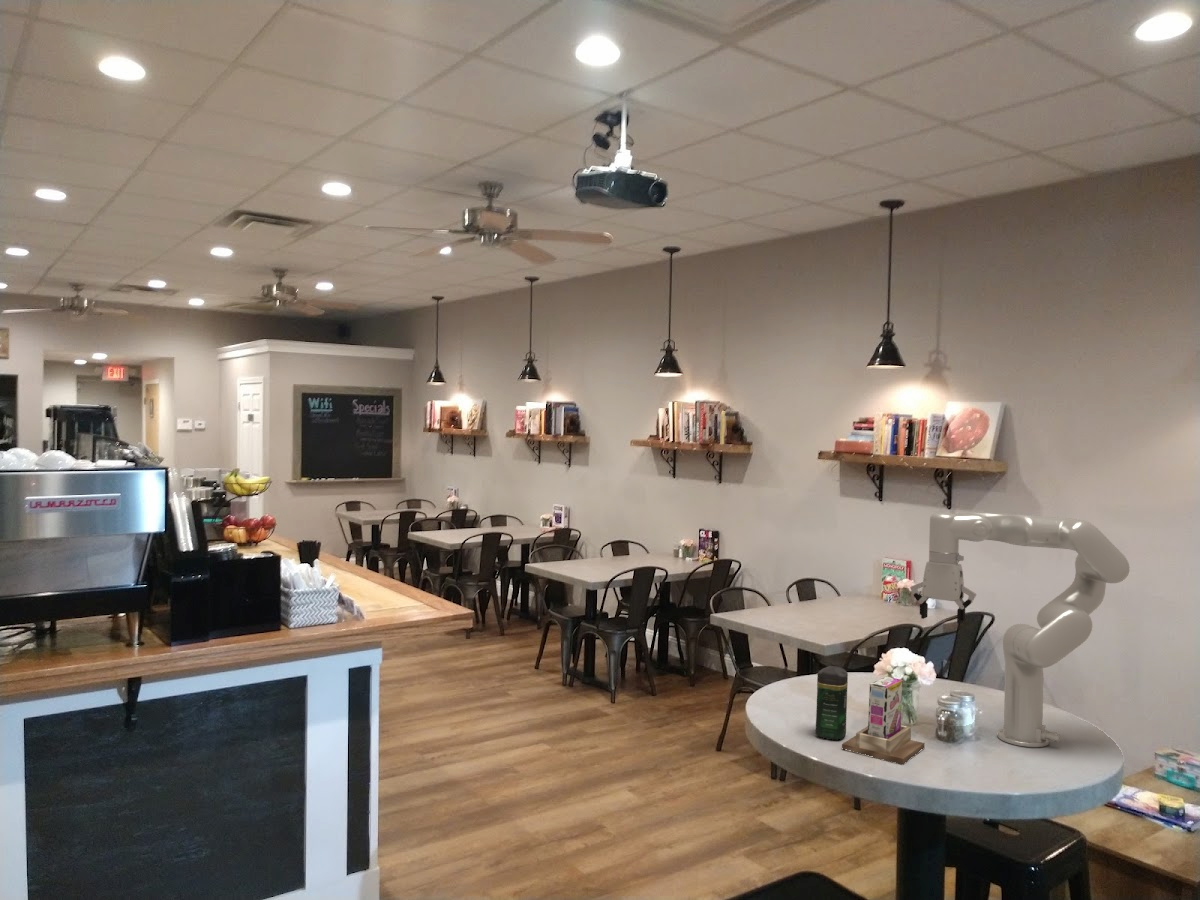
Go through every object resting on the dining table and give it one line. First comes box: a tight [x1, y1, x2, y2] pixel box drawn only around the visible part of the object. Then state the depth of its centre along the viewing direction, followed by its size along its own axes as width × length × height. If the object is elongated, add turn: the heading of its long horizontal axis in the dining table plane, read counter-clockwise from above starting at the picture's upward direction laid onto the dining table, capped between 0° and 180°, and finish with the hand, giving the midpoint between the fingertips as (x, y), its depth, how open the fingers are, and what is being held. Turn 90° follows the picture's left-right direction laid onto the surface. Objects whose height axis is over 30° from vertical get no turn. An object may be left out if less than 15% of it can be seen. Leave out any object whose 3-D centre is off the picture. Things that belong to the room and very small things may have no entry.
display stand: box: [841, 724, 925, 765], centre depth 229 cm, size 16×16×5 cm
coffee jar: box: [815, 665, 849, 740], centre depth 239 cm, size 10×8×19 cm
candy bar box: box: [867, 676, 903, 739], centre depth 229 cm, size 11×5×16 cm, turn 140°
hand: (941, 620), depth 239 cm, fingers open, 9 cm apart
